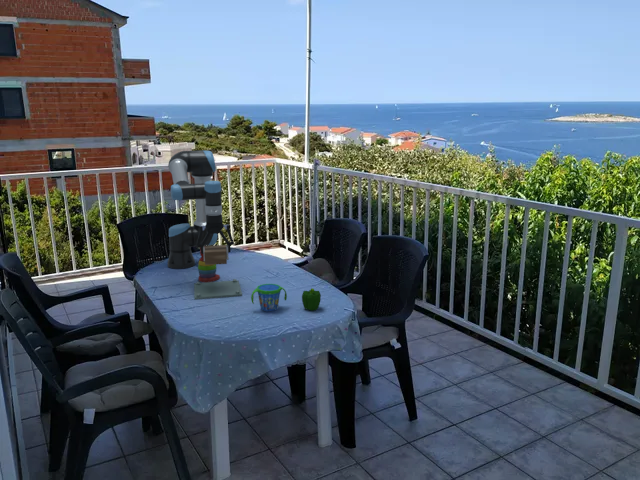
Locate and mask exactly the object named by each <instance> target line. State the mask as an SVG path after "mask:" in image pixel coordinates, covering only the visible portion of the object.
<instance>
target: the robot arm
mask: <svg viewBox="0 0 640 480" xmlns="http://www.w3.org/2000/svg"><path fill="white" fill-rule="evenodd" d="M167 166H168V167H167V168H168V170H169V172H170V173H171V176H172V183H173V184H172V185H170V194H171V200H173V201H190V200H191V201H192V200H194V201H195V218H196V219H195V220H194V221H193V225H190V223H180V224H179V223H178V224H175V225H172V226H170V227H169V228H168V237H169V238H168V241H169V256H168V260H167V267H168V268H170V269H175V270H179V269H180V270H181V269H188V268H192V267H194V266H195V265H196V260H195V258H194V255H193V253H192V248H193V247H199V249H200V248H201V254H203V255H204V261H205V254H204V252H205V246H215V244H216V243H217V241H218V234H219V235H220V236H221V238H222V239H223V240H224V243H225V245H226V254H227V261H229V259H230V258H229V254H230V253H231V246H233V245H235V241H234V240H233V237H232V236H233V235H232V234H231V230H230V225H229V223H227V224H224V223H223V222H224V221H223V214H222V213H223V206H222V205H223V204H222V202H223V201H222V183H221V181H219V180H211V178H212V177H213V176H214V173H216V171H217V167H216V162H215V157H214V154H213V152H212V151H211V150H206V149H205V150H203V149H202V150H182V151H179V152H176V153H175V154H174V155H173V156H172V157H171V158H170V159H169V161H168V165H167ZM188 173H190V174H191V177H192V178H194V183H191V182H190V179H189V175H188ZM223 229H225V230H226V232H227V235H228V237H229V240H228V238H227V237H226V236H225V234H224V233H223V231H222V230H223Z"/></svg>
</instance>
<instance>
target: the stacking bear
mask: <svg viewBox="0 0 640 480" xmlns="http://www.w3.org/2000/svg"><path fill="white" fill-rule="evenodd" d="M199 249H200V251H199V253H200V256H201V257H200V258H199V260H198V264H197V272H198V282H200V283H206V282H217V281H218V280H219V279H221V276H220V274H218V273H217V264H214V265H205V261H204V255H203V254H201V248H200V247H199Z"/></svg>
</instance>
